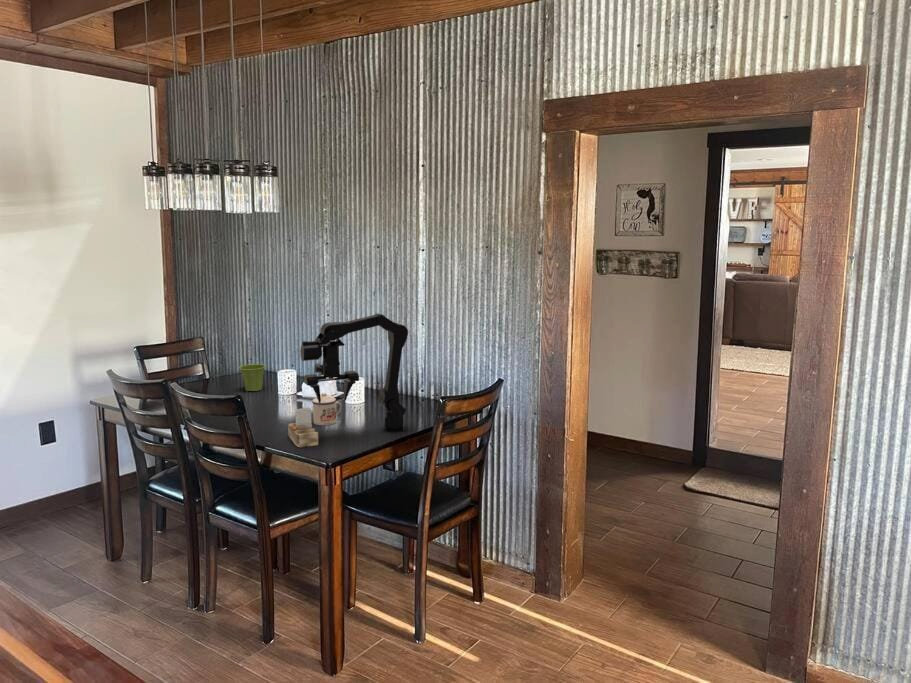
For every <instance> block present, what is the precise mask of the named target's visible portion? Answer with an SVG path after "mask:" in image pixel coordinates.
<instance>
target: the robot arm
mask: <svg viewBox="0 0 911 683" xmlns="http://www.w3.org/2000/svg"><path fill="white" fill-rule="evenodd" d="M374 327H381V328H382V329H383V330H385V331H387V339H388V345H389V352H388V360H387V369H386V377H385V385H384V386H383V388H379V391H378V392H379V394H378V397H377V399H378V400H379V404H380V405H381V407H382V408H384V411H385V412H386V415H385V416H384V429H385V431H386V432H400V431H401V432H402V431H404V430H405V425H404V415H405V414H406V411H407V409H406V408H405V407H404V406H403V405H402V404H401V403H400V401H401V400H400V393H399V387H398V384H399V378H400V369H401V360H402V353H403V352H402V351H403V348H404V346H405V344H406V342H407V339H408V335H409V329H408V328H407V326H405V325H403V324H401V323H398V322H395V321H393V320H391V319H390V318H387V317H386V316H385V315H384V314H381V313H375V314H373V315H368V316H364V317H360V318H356V319H353V320H347V321H334V322H333V321H332V322H325V323H323V324H322V325H321V327H320V330H319V333H318V335H317V336H316V338H315V339H314V340H309V341H308V340H306V341H305V340H302V341H301V346H300V350H299V352H300V359H301V361H302V362H307V361H316V360H317V361H318V360H320V358H322V364H321V363H320V362H319V363H315V364H314V372H315V373H316V374H315V373H314V374H313V373H312V374H311V373H310V374H305V375H304V376H303V383H304V384H305V385H306V386H309V387H310V388H312V389H313V392H314V393H315V396H316V398H317V399H318V402H319V403H321V388H320V385H319V383H321V382H328V381H332V382H333V381H340V380H343V385H344V386H343V400H344V401H347V399H348V396H349V394H350V392H351V389H352V387H353V385H354V384H356V383H357V382H359V381H360V374H359V373H358V372H356V371H355V370H346V371H344V373H343V374H342V373H340V366H341V365H340V364H341V362H340V347H344V346H346V345H345V343H344V342H342V340H341V338H343V337H345V336H346V335H349V334H350V333H351V334H352V333H355V332H359V331H363V330H366V329H371V328H374ZM318 373H319V374H320V375H317V374H318Z"/></svg>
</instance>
